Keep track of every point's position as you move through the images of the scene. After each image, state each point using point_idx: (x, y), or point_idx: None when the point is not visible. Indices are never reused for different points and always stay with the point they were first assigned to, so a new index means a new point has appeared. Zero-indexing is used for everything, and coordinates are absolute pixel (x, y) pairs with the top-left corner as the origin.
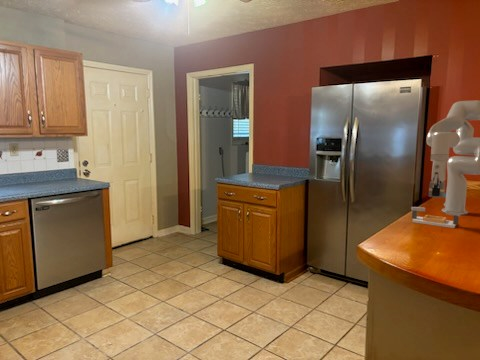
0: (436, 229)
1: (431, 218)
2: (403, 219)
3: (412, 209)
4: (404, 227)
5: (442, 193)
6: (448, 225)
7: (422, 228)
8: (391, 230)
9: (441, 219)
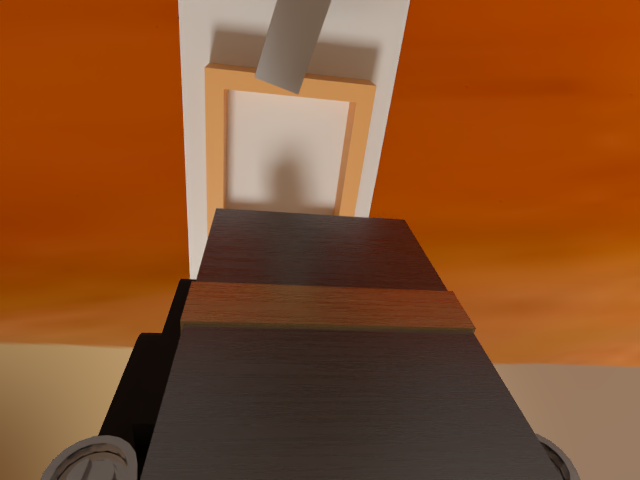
0: (513, 126)
1: (348, 196)
2: None
3: None
4: (524, 306)
5: (432, 276)
6: (401, 34)
7: (515, 216)
8: (617, 344)
9: (226, 108)
